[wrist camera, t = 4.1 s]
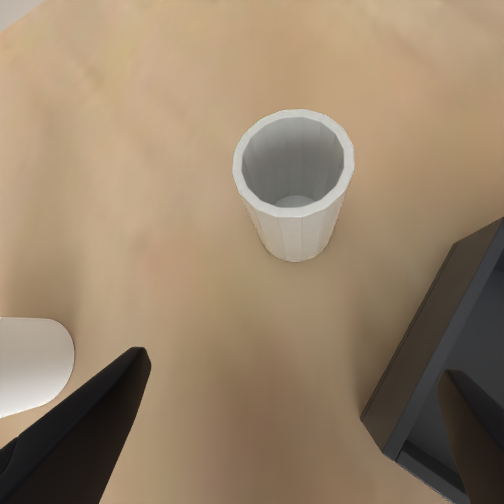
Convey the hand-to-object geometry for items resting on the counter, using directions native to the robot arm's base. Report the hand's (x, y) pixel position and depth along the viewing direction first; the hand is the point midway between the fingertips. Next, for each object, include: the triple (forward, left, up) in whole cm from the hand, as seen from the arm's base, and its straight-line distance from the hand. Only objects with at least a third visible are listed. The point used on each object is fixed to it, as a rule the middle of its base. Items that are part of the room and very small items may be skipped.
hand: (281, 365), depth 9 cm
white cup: (+3, +8, -13) cm, 16 cm away
